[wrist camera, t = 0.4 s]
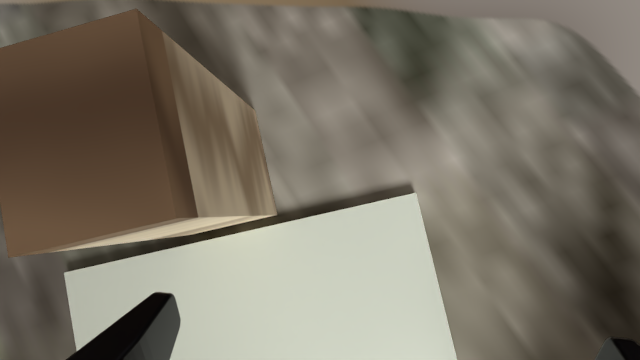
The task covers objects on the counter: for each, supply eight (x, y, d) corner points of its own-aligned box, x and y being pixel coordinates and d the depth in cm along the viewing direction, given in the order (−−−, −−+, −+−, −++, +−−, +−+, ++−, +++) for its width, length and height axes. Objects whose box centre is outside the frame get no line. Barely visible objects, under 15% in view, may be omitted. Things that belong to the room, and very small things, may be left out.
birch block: (277, 214, 24) (176, 218, 12) (191, 234, 25) (8, 257, 12) (255, 110, 25) (136, 8, 12) (172, 131, 25) (-23, 54, 13)
